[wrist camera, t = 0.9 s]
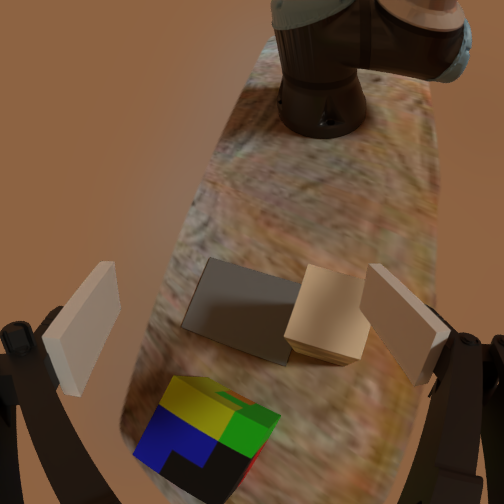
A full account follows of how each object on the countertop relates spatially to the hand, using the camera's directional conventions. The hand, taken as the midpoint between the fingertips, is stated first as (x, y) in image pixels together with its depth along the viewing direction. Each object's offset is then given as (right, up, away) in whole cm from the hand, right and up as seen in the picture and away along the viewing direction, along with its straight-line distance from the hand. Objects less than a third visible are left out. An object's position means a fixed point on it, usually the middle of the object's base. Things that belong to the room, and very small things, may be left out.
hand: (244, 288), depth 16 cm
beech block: (+9, -8, +20) cm, 23 cm away
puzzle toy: (-3, -20, +18) cm, 27 cm away
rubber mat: (0, -5, +23) cm, 24 cm away
